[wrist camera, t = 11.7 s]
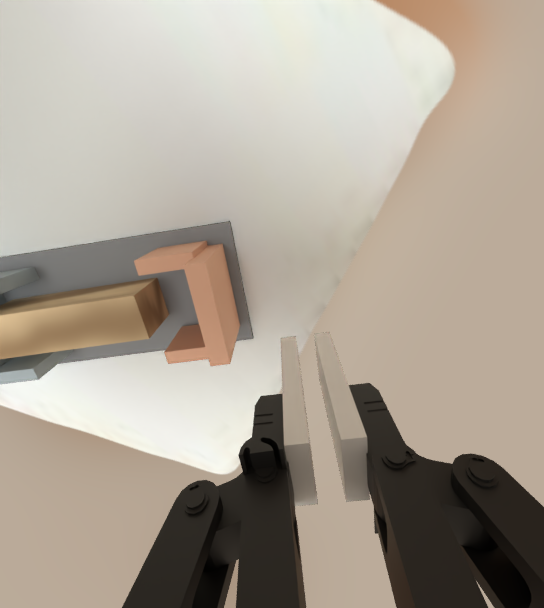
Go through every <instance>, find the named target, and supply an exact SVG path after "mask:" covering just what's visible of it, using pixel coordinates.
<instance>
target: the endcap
mask: <svg viewBox="0 0 544 608" xmlns="http://www.w3.org/2000/svg"><path fill="white" fill-rule="evenodd" d="M134 263H135V266H136V269H137V272H138V275H139V276H141V275H147V274H154V273H161V272H168V271H174V270H181V269H184V270H185V274H186V278H187V281H188V285H189V289H190V292H191V296H192V300H193V303H194V307H195V311H196V314H197V318H198V322H199V324H197V325H189V326H182V327H181V328H180V330H179V331H178V333H177V334H176V336H175V337H174V339H173V340H172V342H171V343H170V345H169V346H168V348H167V349H166V351H165V352H164V353H165V356H166V359H167V362H168V364H171V363H179V362H187V361H195V360H203V359H209V362H210V366H216V365H224V364H230V362H231V358H232V354H233V351H234V347H235V343H236V339H237V335H238V331H239V327H240V322H239V318H238V313H237V308H236V304H235V299H234V294H233V290H232V285H231V281H230V276H229V271H228V267H227V262H226V257H225V253H224V248H223V244H217V245H210V246H208V245H207V241H200V242H193V243H187V244H180V245H174V246H167V247H161V248H157V249H155V250H153V251H151V252H149V253H148V254H146V255H144V256H142V257H140V258H138V259H136V260H134Z"/></svg>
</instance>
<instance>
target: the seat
mask: <svg viewBox="0 0 544 608" xmlns="http://www.w3.org/2000/svg"><path fill="white" fill-rule="evenodd" d="M200 241H207V245H208V246H210V245H217V244H223V248H224V253H225V257H226V262H227V267H228V271H229V276H230V281H231V285H232V290H233V294H234V299H235V304H236V308H237V313H238V318H239V322H240V327H239V331H238V335H237V339H236V341H239V340H246V339H253V335H252V330H251V325H250V320H249V315H248V310H247V305H246V300H245V295H244V290H243V285H242V280H241V275H240V270H239V265H238V260H237V255H236V250H235V245H234V240H233V235H232V230H231V225H230V221H229V222H223V223H216V224H210V225H204V226H197V227H191V228H185V229H178V230H172V231H166V232H159V233H153V234H147V235H140V236H134V237H127V238H121V239H115V240H108V241H102V242H96V243H89V244H83V245H77V246H70V247H64V248H58V249H51V250H45V251H39V252H32V253H26V254H20V255H13V256H7V257H1V258H0V305H2V304H4V303H7V302H9V301H11V300H13V299H20V298H26V297H33V296H39V295H46V294H52V293H59V292H65V291H72V290H78V289H85V288H92V287H98V286H105V285H111V284H118V283H124V282H131V281H137V280H144V279H150V278H157V279H158V282H159V285H160V288H161V291H162V294H163V297H164V301H165V304H166V307H167V310H168V313H169V315H168V317H167V318H166V319H165V320H164V322H163V323H162V324H161V325H160V326H159V328H158V329H157V330H156V331H155V332H154V334H153V335H152V336H151V337H150V339H144V340H137V341H129V342H122V343H115V344H108V345H100V346H93V347H86V348H79V349H71V350H64V351H57V352H50V353H42V354H35V355H28V356H21V357H13V358H6V359H0V384H7V383H15V382H23V381H31V380H39V379H40V378H41V377H42V376H43V375H45V374H46V373H47V372H48V371H50V370H51V369H52V368H53V367H54V366H56V365H57V364H60V363H67V362H75V361H83V360H91V359H98V358H106V357H114V356H122V355H130V354H137V353H145V352H153V351H161V350H166V349H167V348H168V346H169V345H170V343H171V342H172V340H173V339H174V337H175V336H176V334H177V333H178V331H179V330H180V328H181V327H182V326H189V325H197V324H199V322H198V318H197V314H196V311H195V307H194V303H193V300H192V296H191V292H190V289H189V285H188V281H187V278H186V274H185V270H184V269H181V270H174V271H168V272H161V273H154V274H147V275H141V276H139V275H138V272H137V269H136V266H135V263H134V260H136V259H138V258H140V257H142V256H144V255H146V254H148V253H149V252H151V251H153V250H155V249H157V248H161V247H167V246H174V245H180V244H187V243H193V242H200Z"/></svg>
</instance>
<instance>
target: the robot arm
mask: <svg viewBox="0 0 544 608" xmlns="http://www.w3.org/2000/svg"><path fill="white" fill-rule="evenodd" d="M314 337H315V346H316V355H317V364H318V372H319V381H320V385H321V390H322V394H323V399H324V403H325V408H326V412H327V417H328V421H329V426H330V430H331V435H332V439H333V444H334V448H335V453H336V458H337V462H338V467H339V471H340V475H341V480H342V485H343V489H344V493H345V498H346V502H349V501H361V500H369V499H370V496H369V492H370V495H371V498H372V501H373V504H374V523H375V533H378V534H379V538H380V542H381V546H382V551H383V555H384V559H385V563H386V567H387V571H388V575H389V579H390V583H391V587H392V591H393V595H394V599H395V603H396V607H397V608H488V606H487V604H486V602H485V600H484V597H483V595H482V593H481V591H480V589H479V587H478V584H479V585H480V587H481V588H482V590H483V591H484V593H485V594H486V596H487V597H488V599H489V600H490V602H491V603H492V605H493V606H494V607H495V608H544V507H543V506H542V505H541V504H540V503H539V502H538V501H537V500H535V498H534V497H533V496H532V495H530V494H529V493H528V492H527V491H526V490H525V489H524V488H523V487H522V486H521V485H520V484H519V483H518V482H517V481H516V480H515V479H514V478H513V477H512V476H511V475H510V474H509V473H508V472H506V471H505V470H504V469H503V468H502V467H501V466H499V465H498V464H497V463H495V462H494V461H492V460H490V459H488V458H486V457H484V456H481V455H476V454H462V455H460V456H458V457H457V458H455V460H454V462H453V464H450V463H444V462H439V461H433V460H429V459H426V458H424V457H421V456H419V455H418V454H416V453H415V451H414V450H412V449H411V448H410V447H408V446H407V445H406V444H405V442H404V441H403V439H402V437H401V435H400V433H399V431H398V429H397V427H396V425H395V423H394V421H393V419H392V417H391V415H390V413H389V411H388V409H387V406H386V404H385V403H384V401H383V398H382V397H381V395H380V392H379V391H378V390H377V389H376V388H375V387H374V386H372V385H371V384H370V383H365V384H356V385H348V383H347V380H346V377H345V374H344V371H343V369H342V366H341V363H340V360H339V358H338V355H337V352H336V349H335V347H334V344H333V341H332V338H331V335H330V333H329V332H325V333H317V334H314ZM281 360H282V392H283V393H282V394H276V395H267V396H261V397H260V398H259V400H258V402H257V403H256V405H255V412H254V423H253V424H254V426H253V433H252V438H250V439H249V440H247V441H246V442H245V443H244V445H243V446H242V447H241V449H240V452H239V459H240V462H241V466H242V469H243V472H242V473H241V474H240V475H239V476H238V477H237V478H235V479H233V480H231V481H229V482H227V483H224V484H222V485H219V486H216V485H215V484H214V483H213V482H210V481H207V480H202V481H196V482H194V483H192V484H190V485H188V486H187V487H186V488H185V489H184V490H182V491H181V493H180V494H179V496H178V497H177V499H176V500H175V502H174V504H173V506H172V509H171V510H170V512H169V514H168V516H167V519H166V520H165V522H164V524H163V527H162V528H161V530H160V533H159V535H158V536H157V538H156V540H155V542H154V545H153V547H152V549H151V550H150V553H149V555H148V557H147V558H146V560H145V563H144V564H143V566H142V569H141V571H140V573H139V575H138V577H137V579H136V581H135V583H134V585H133V587H132V589H131V591H130V593H129V595H128V597H127V599H126V601H125V603H124V605H123V607H122V608H224V605H225V601H226V597H227V593H228V590H229V586H230V582H231V578H232V574H233V571H234V567H235V563H236V560H238V559H239V566H238V567H239V568H238V583H237V600H236V608H306V601H305V592H304V583H303V573H302V564H301V555H300V546H299V536H298V528H297V520H296V515H295V506H303V505H315V504H318V500H317V492H316V485H315V477H314V470H313V462H312V454H311V447H310V440H309V431H308V423H307V416H306V408H305V401H304V393H303V386H302V378H301V371H300V363H299V356H298V349H297V341H296V336H294V337H286V338H281ZM475 579H476V580H475ZM476 581H477V582H478V584H477V582H476Z"/></svg>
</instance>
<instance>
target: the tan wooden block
mask: <svg viewBox="0 0 544 608" xmlns="http://www.w3.org/2000/svg"><path fill="white" fill-rule="evenodd" d="M168 315H169V313H168V310H167V307H166V304H165V301H164V297H163V294H162V291H161V288H160V285H159V282H158V279H157V278H150V279H144V280H137V281H131V282H124V283H118V284H111V285H105V286H98V287H92V288H85V289H78V290H72V291H65V292H59V293H52V294H46V295H39V296H33V297H26V298H20V299H13V300H11V301H9V302H7V303H4V304H2V305H0V359H6V358H13V357H21V356H28V355H35V354H42V353H50V352H57V351H64V350H71V349H79V348H86V347H93V346H100V345H108V344H115V343H122V342H129V341H137V340H144V339H150V337H151V336H152V335H153V334H154V332H155V331H156V330H157V329H158V328H159V326H160V325H161V324H162V323H163V322H164V320H165V319H166V318H167V317H168Z"/></svg>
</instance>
